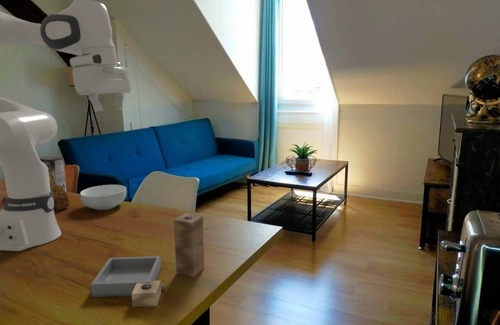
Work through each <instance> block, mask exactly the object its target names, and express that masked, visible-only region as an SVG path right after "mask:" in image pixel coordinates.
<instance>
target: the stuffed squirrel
mask: <svg viewBox="0 0 500 325" xmlns="http://www.w3.org/2000/svg"><path fill="white" fill-rule="evenodd" d="M53 178H54V176H53V175H51V176H49V181H50V190H51V191H52V194H53V200H54V211H55V210H56V211H62V210H65V209H67V208H68V207H69V206H70V204H71V203H72V202H71V201H70V198H69V196H68V194H67V192H65V191H64V189H63V188H62V186H60V185H55V186H53V183H52V182H53V181H52V179H53Z"/></svg>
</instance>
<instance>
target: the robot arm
mask: <svg viewBox="0 0 500 325" xmlns="http://www.w3.org/2000/svg"><path fill="white" fill-rule="evenodd" d="M18 45H19V46H25V45H26V46H27V45H28V46H29V45H30V46H40V47H47V48H48V47H49V48H51V49H53V50H55V51H58V52H62V53H67V54H72V55H74V57H72V58H70V59H69V63H70V66H71V67H72V73H71V74H72V79H73V84H74V89H75V91H76V93H77V95H79V96H87V97H88V100H89V101H90V103H91V104H92V106H93V109H94V112H103V111H104V108H103V104H101V103H100V101H99V99H100V98H99V95H114V97H115V98H116V101H115V102H114V108H115V110H122V109H124V104H123V103H124V98H125V95H124V94H128V93H129V94H130V92H131V89H132V88H131V83H130V79H129V75H128V72H127V70H126V69H125V67H124V66H123V65H122V63H121V62H118V56H117V51H116V46H115V44H114V42H113V29H112V24H111V19H110V15H109V11H108V9H107V7H106V5H105V4H103V2H100V1H98V0H73V1H72V3H70V5H69V6H68V7H66V8H65V9H63V10H61V11H58V12H56V13H52V14H49V15H47V16H46V17H45V18H43V20H42V21H41V23H36V22H30V21H27V20H24V19H21V18H18V17H16V16H13V15H10V14H8V13H6V12H3V11H1V10H0V47H1V46H18ZM57 133H58V123H57V120H56V118H55V117H53V115H51V114H50V113H48V112H46V111H41V110H38V109H35V108H32V107H30V106H28V105H24V104H22V103H19V102H16V101H13V100H11V99H8V98H4V97H2V96H0V167H1V169H2V171H3V176H4V180H5V188H6V192H7V193H6V195H7V196H5V197H3V198H2V199H0V205H3V206H2V209H0V251H8V252H9V251H13V252H21V251H24V250H26V249H29V248H33V247H36V246H42V245H44V244H47V243H49V242H52V241H54V240H56V239H59V237H61V235H62V231H61V229H60V227H59V225H58V221H57V218H56V215H55V210H54V200H53V194H52V191H51V190H50V181H49V173H48V167H47V166H46V165H45V164H44V163H42V162H41V160H40V159H39V158H40V157H39V155H38V152H37V150H36V147H38V146H41V145H44V144H47V143H48V142H50V141H51V140H52V139H53V138H55V136H56V135H57Z"/></svg>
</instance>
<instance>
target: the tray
mask: <svg viewBox="0 0 500 325" xmlns="http://www.w3.org/2000/svg"><path fill="white" fill-rule="evenodd" d="M161 260H162V259H161V256H159V255H158V256H130V257H128V256H127V257H125V256H124V257H109V258H108V260H107V261H106V263H105V264H104V265H103V267H102V268H101V269H100V271H99V272H98V274H97V275H96V276H95V278H94V279H93V280H92V282H91V283H90V290H91V297H92V298H104V297H106V298H107V297H111V298H113V297H132V292H133V290H134V288H135V286H136V284H137V283H150V281H158V276H159V274H160V271H161V269H162V261H161Z"/></svg>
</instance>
